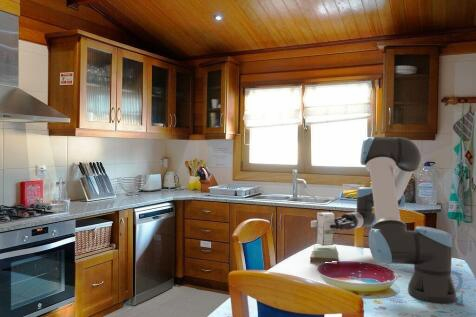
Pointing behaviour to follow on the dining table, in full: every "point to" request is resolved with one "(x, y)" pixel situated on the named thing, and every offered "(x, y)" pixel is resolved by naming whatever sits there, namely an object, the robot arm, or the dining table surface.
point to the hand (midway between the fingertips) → (317, 225)
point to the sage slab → (325, 251)
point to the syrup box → (323, 235)
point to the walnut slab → (321, 259)
